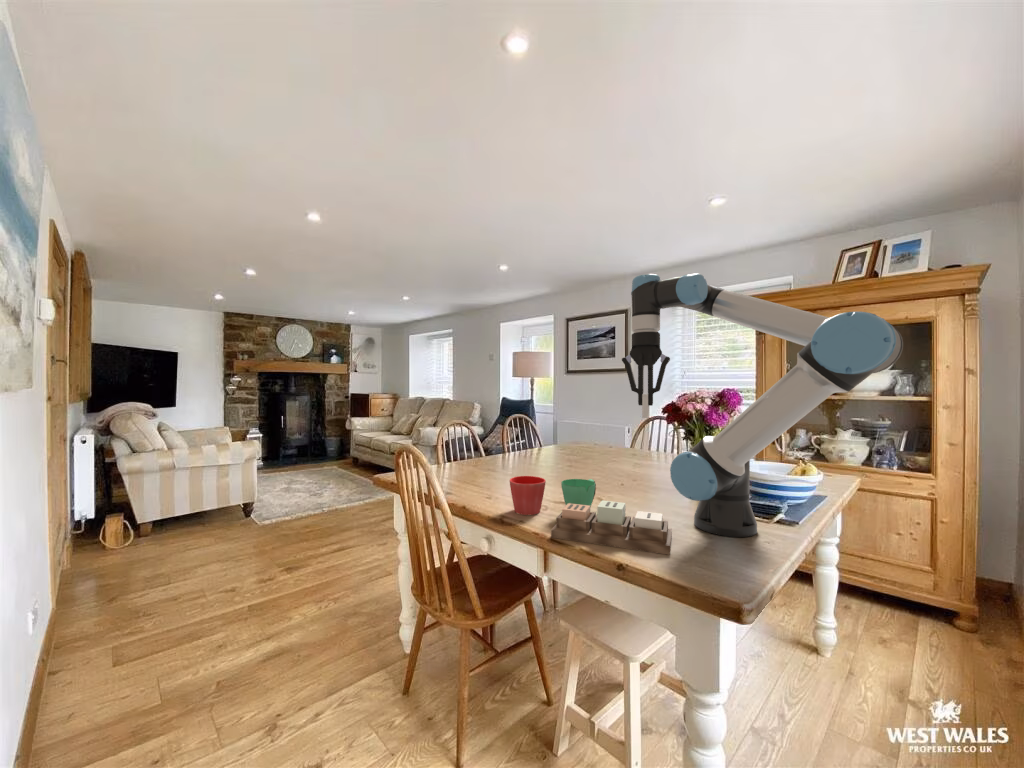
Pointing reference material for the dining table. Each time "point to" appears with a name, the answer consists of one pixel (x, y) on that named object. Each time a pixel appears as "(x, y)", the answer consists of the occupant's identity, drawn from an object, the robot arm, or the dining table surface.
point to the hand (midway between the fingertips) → (645, 417)
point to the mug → (578, 491)
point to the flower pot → (527, 494)
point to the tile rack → (614, 534)
